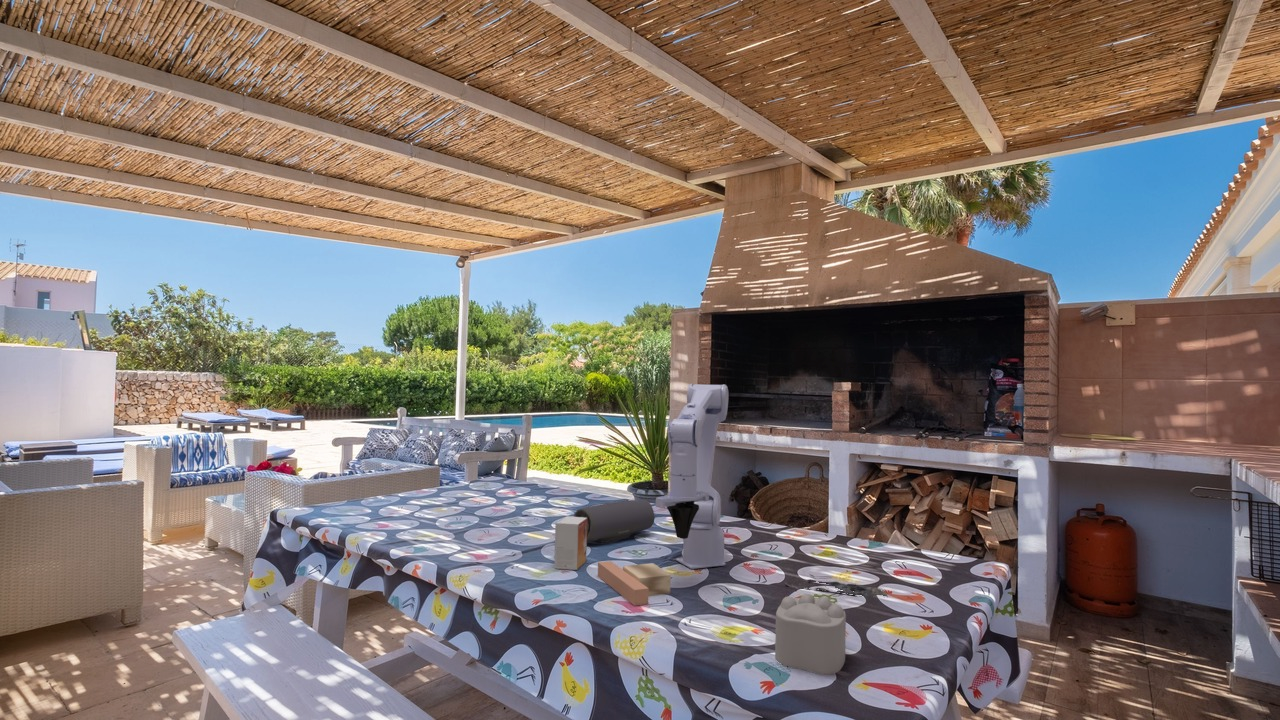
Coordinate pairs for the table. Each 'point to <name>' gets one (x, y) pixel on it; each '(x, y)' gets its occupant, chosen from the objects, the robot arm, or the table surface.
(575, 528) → the small box
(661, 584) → the beech block
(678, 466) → the robot arm
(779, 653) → the lumpy-topped squat cylinder
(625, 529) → the bluetooth speaker
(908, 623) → the table surface
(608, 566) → the terracotta batten
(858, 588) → the driftwood
